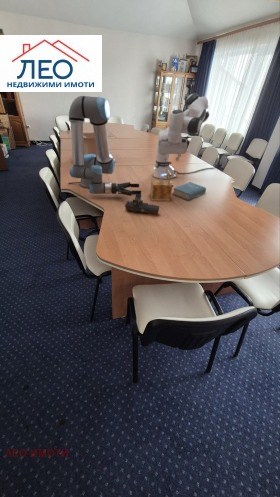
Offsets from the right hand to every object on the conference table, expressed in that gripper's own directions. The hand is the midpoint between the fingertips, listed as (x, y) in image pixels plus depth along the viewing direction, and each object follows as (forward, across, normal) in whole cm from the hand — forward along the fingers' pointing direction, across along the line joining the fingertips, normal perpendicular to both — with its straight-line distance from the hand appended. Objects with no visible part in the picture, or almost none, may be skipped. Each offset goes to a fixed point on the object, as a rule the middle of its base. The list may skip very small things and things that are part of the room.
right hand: (170, 160), depth 154 cm
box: (+28, -44, +102) cm, 114 cm away
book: (+28, +22, +4) cm, 36 cm away
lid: (+17, -4, +1) cm, 17 cm away
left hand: (+21, -20, +3) cm, 29 cm away
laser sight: (+28, -25, -20) cm, 43 cm away
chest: (+28, -4, +1) cm, 28 cm away
